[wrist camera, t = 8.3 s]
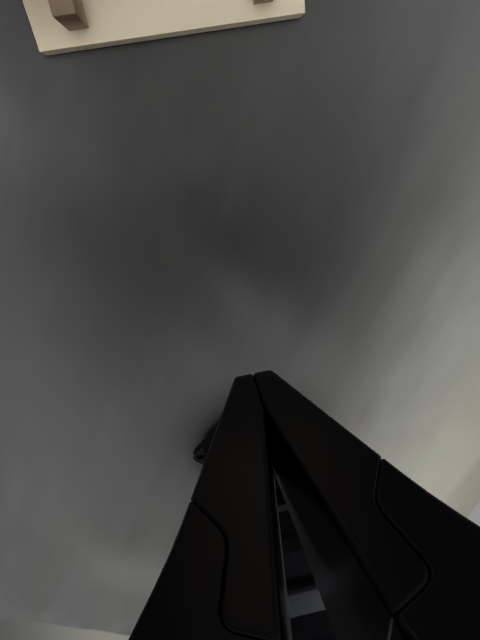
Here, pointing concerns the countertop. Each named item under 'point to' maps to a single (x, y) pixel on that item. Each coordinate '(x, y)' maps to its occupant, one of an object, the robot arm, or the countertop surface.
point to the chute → (143, 20)
